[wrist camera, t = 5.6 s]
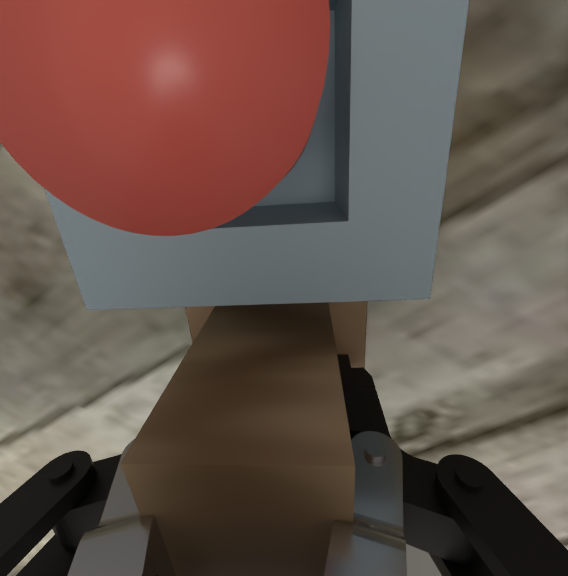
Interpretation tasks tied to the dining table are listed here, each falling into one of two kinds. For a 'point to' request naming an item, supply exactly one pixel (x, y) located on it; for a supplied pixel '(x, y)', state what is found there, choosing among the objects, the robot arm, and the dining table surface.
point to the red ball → (160, 103)
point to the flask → (420, 563)
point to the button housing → (316, 186)
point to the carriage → (252, 440)
